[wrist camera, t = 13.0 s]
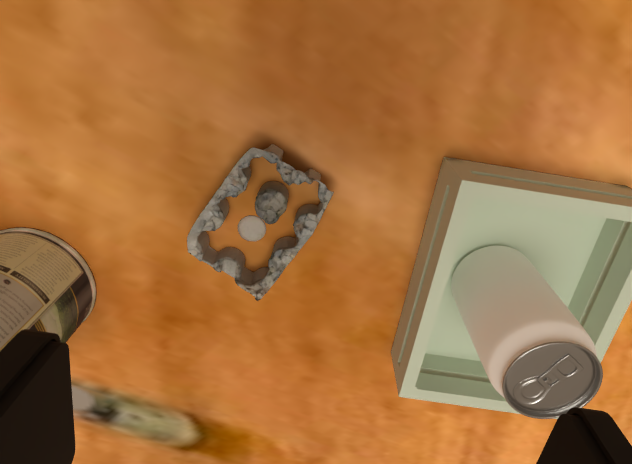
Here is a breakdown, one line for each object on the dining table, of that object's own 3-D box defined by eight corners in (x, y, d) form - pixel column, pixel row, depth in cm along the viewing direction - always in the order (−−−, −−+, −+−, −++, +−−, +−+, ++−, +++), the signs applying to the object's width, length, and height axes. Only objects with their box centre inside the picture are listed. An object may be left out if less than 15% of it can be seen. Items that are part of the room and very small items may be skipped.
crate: (443, 156, 36) (461, 180, 31) (626, 186, 36) (674, 213, 31) (390, 352, 43) (398, 396, 38) (544, 374, 44) (571, 421, 39)
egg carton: (264, 281, 41) (257, 308, 37) (187, 232, 39) (171, 255, 36) (341, 186, 37) (342, 205, 34) (260, 127, 36) (252, 141, 32)
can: (432, 279, 39) (472, 383, 28) (497, 226, 37) (566, 315, 26) (484, 326, 41) (540, 441, 30) (548, 278, 39) (633, 382, 28)
